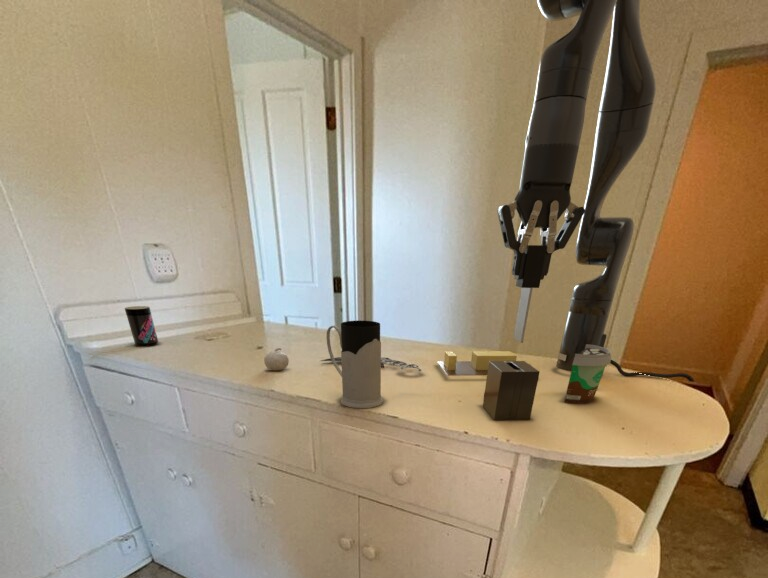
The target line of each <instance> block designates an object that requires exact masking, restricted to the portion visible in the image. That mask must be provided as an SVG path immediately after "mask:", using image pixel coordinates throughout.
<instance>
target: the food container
mask: <svg viewBox="0 0 768 578" xmlns="http://www.w3.org/2000/svg"><path fill="white" fill-rule="evenodd" d="M611 360H612V354H611V350H610V349H608V348H607V347H605V346H604V347H600V346H595V345H588V344H586V347H585V350H584V351H581V352H580V354H575V357H574V361H573V364H572V365H573V366H572V371H570V376H569V380H568V384H567V388H566V393H565V397H564V401H563V403H568V404H588V403H591V402H593V401H594V399H595V396H596V393H597V391H598V387H599V385H600V382H601V380H602V378H603V374H604V371H605V369H606V367H607V366H606V365H610V362H611Z"/></svg>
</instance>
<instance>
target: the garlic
mask: <svg viewBox="0 0 768 578" xmlns="http://www.w3.org/2000/svg"><path fill="white" fill-rule="evenodd" d="M263 362H264V363H263V364H264V365H265V367H266V368H267V370H270V371H274V372H275V371H283V370H285V369H286V368H287V367H288V366H289V362H290V361H289V357H288V354H286V353H284V352H282V348H281V347H276V348H275V349H274V350H272V351H269V352H268V353H267V354H265V356H264V359H263Z"/></svg>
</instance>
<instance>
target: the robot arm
mask: <svg viewBox="0 0 768 578" xmlns="http://www.w3.org/2000/svg"><path fill="white" fill-rule="evenodd" d="M536 2H537V6H538V8H539V11H540V12H541V14H542V16H543V17H544V18H545V19H546V20H548V21H551V22H559V21H563V20H568V19H571V18H575V17H578V19H577V21H576V22H575V24H574V26H573V27H572V29H571V30H570V31H568V33H566V34H565V35H563V36H562V37H560V38H558V39H557V40H555V41H553V42H551V43H550V44H549V45H547V46H546V47H545V49H544V50H543V52H542V55H541V57H540V61H539V67H538V72H537V73H538V74H537V79H536V85H535V93H534V98H533V105H532V111H531V115H530V119H529V121H528V122H529V124H528V128H527V133H526V136H525V147H524V154H523V161H522V168H521V174H520V182H519V189H518V192H517V194H516V196H515V197H514V200H513V201H511V202H509V203H507V204H503V205H500V206H498V208H497V210H496V213H497V217H498V222H499V226H500V231H501V236H502V239H503V244H504V247H505V248H507V249H509V250H512V252H513V253H514V254H513V255H514V256H513V262H512V268H511V274H512V275H513V277H514V279H515V280H517V279H520V280H521V279H522V278H523V272H524V266H525V260H526V254H525V251H526V249H527V246H528V245H529V244H530V240H531V237H532V236H533V234H534V231H535V229H537V228H538V229H540V237H541V240H540V241H541V243H540V244H541V245H546V246H547V249H546V254H545V259H544V265H543V270H542V275H541V281H543V280H544V279H545V277H547V275H548V273H549V270H550V266H551V265H550V264H551V260H552V255H553V253H554V252H556V251H558V250H562V249H565V248H566V246H567V245H568V242H569V241H570V239H571V237H572V235H573V233H574V232H575V230H576V229H577V226H578V225H579V229H578V234H577V235H578V236H577V239H576V245H575V261H576V263H577V264H578V265H580V266H581V265H582V266H594V267H595V266H597V267H605V268H604V270H603V272H601V274H599V275H597V276H596V277H594V278H592V279H590V280H586V281H583V282H580V283H577V284H575V285H574V287H573V290H572V293H571V298H570V304H569V308H568V312H567V317H566V320H565V325H564V329H563V334H562V339H561V342H560V346H559V347H560V348H559V352H558V356H557V360H556V367H555V368H558V369H560V370H563V371H568V372H571V371H572V366H573V365H572V364H573V361H574V357H575V354H580V352H581V351H584V350H585V347H586V344H588V345H595V346H600V347H604V348H605V343H606V340H607V338H608V337H607V336H608V335H607V334H606V333H605V331H606V327H607V323H608V319H609V316H610V313H611V309H612V305H613V301H614V298H615V295H616V291H617V287H618V284H619V280H620V278H621V277H620V276H621V274H622V271H623V270H622V269H623V267H624V263H625V260H626V258H627V255H628V251H629V249H630V245H631V242H632V239H633V235H634V229H635V225H634V224H635V223H634V220H633V219H632V218H631V217H628V216H626V217H624V216H623V217H622V216H619V217H618V216H615V217H614V216H613V217H612V216H611V217H610V216H609V217H608V216H607V217H601V212H602V208H603V205H604V202H605V200H606V198H607V196H608V194H609V192H610V191H611V190H612V188H613V185H614V184H615V183H616V181H617V180H618V178H619V176H621V174H622V172H623V171H624V170H625V168H626V167H627V166H628V165H629V163H630V161H631V160H632V159H633V158H634V156H635V155H636V154H637V152H638V150H639V149H640V147H641V146H642V144H643V142H644V141H645V138H646V136H647V134H648V129H649V125H650V120H651V116H652V112H653V106H654V101H655V99H656V90H657V86H656V78H655V73H654V70H653V66H652V64H651V60H650V56H649V54H648V50H647V47H646V44H645V40H644V38H643V33H642V29H641V21H640V20H641V19H640V17H641V15H640V9H641V8H640V5H641V4H640V3H641V0H536ZM611 16H612V20H611V21H612V22H611V30H610V38H609V39H610V40H609V41H610V42H609V46H608V47H609V48H608V54H607V61H606V67H605V74H604V79H603V85H602V92H601V97H600V102H599V108H598V113H597V114H598V115H597V120H596V127H595V134H594V143H593V151H592V158H591V165H590V171H589V179H588V185H587V191H586V195H585V200H584V205H583V206H578V205H576V204H575V203H573V202H572V197H571V186H572V184H573V180H574V179H573V178H574V173H575V168H576V163H577V158H578V154H579V149H580V144H581V138H582V133H583V129H584V125H585V124H584V123H585V115H586V114H585V113H586V105H587V98H588V93H589V89H590V83H591V79H592V74H593V69H594V64H595V60H596V58H597V54H598V51H599V48H600V45H601V43H602V40H603V38H604V35H605V32H606V29H607V27H608V24H609V22H610V19H611ZM515 211H516V212H517V215H518V217H519V219H520V225H519V228H518V231H517V237H516V233H515V228H514V222H513V219H514V218H515V215H516V214H515ZM564 213H565V214H564ZM563 214H564V222H563V224H562V225H561V228H560V229H559V231H558V233H557V230H558V229H557V227H558V220H559V219H560V218H561V216H563ZM579 223H580V224H579ZM610 364H611V366H614V367H615V368H616V370H617V371H618V372H619V374H620V375H622V376H624V377H635V376H636V377H637V376H646V377H652V378H653V377H654V378H662V379H668V378H670V379H671V378H685V379H686V380H688V381H689V382H692V383H695V379H694V378H693V377H692V376H691V375H690V374H687V373H684V372H677V373H658V372H657V373H655V372H649V371H633V372H627V371H624V370H623V368H622V367H621V365H620V364H619V363H618V362H617V361H615V360H613V359H611V362H610ZM610 364H609V365H610ZM605 367H607V365H606V366H605ZM634 372H635V373H634ZM636 372H637V373H636ZM639 373H642V374H639ZM644 374H646V375H644ZM648 375H650V376H648Z"/></svg>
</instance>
